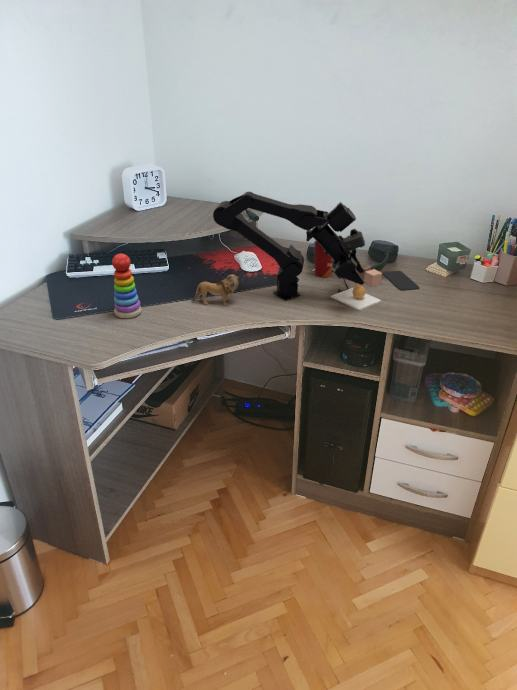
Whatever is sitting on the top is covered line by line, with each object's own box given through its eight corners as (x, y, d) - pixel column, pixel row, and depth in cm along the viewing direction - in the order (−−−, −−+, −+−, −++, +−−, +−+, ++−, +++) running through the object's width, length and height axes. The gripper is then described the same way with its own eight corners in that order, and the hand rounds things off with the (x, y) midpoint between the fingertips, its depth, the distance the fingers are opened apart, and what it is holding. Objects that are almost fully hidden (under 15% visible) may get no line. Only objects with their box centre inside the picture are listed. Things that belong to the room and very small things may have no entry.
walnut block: (354, 277, 188) (355, 266, 186) (360, 274, 190) (361, 263, 188) (364, 280, 186) (365, 269, 184) (370, 277, 188) (371, 266, 186)
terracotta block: (363, 282, 184) (365, 271, 182) (372, 280, 186) (374, 269, 184) (371, 286, 181) (373, 275, 179) (380, 284, 183) (382, 273, 181)
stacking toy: (112, 309, 165) (104, 250, 155) (138, 305, 167) (132, 247, 158) (117, 321, 158) (109, 260, 149) (144, 316, 161) (138, 256, 152)
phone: (400, 289, 178) (381, 271, 191) (399, 292, 179) (380, 274, 191) (420, 288, 180) (400, 270, 192) (420, 290, 180) (400, 272, 193)
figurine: (366, 303, 168) (370, 267, 162) (347, 303, 169) (349, 267, 163) (362, 292, 176) (365, 256, 170) (344, 292, 176) (346, 257, 170)
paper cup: (335, 278, 186) (338, 239, 179) (312, 278, 186) (315, 239, 179) (332, 270, 193) (336, 231, 186) (311, 269, 193) (313, 231, 186)
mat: (331, 297, 174) (331, 295, 173) (352, 289, 179) (353, 287, 179) (359, 310, 166) (359, 309, 165) (381, 302, 171) (381, 300, 171)
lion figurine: (238, 297, 173) (238, 271, 168) (239, 305, 168) (239, 278, 164) (191, 299, 172) (190, 272, 167) (191, 306, 167) (189, 279, 163)
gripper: (350, 234, 153) (385, 273, 157) (350, 214, 169) (382, 250, 173) (320, 259, 158) (355, 296, 162) (323, 237, 173) (355, 272, 178)
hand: (362, 277), depth 168 cm, fingers open, 9 cm apart
